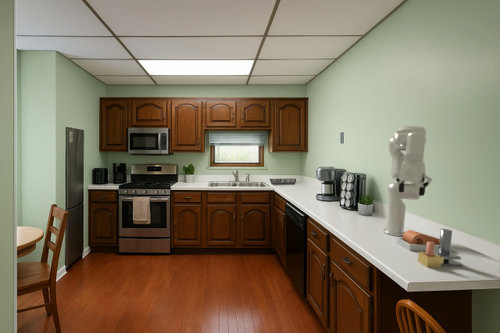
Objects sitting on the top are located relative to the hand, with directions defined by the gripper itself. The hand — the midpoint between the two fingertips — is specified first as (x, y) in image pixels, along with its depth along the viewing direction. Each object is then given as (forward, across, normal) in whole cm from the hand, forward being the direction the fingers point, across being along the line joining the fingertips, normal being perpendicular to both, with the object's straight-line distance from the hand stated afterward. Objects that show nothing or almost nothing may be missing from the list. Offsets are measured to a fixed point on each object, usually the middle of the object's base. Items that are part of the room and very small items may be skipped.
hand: (411, 193), depth 135 cm
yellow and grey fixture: (+30, +12, +5) cm, 33 cm away
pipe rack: (+30, -2, +22) cm, 37 cm away
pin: (+30, +12, -1) cm, 32 cm away
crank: (+31, -3, +23) cm, 38 cm away
